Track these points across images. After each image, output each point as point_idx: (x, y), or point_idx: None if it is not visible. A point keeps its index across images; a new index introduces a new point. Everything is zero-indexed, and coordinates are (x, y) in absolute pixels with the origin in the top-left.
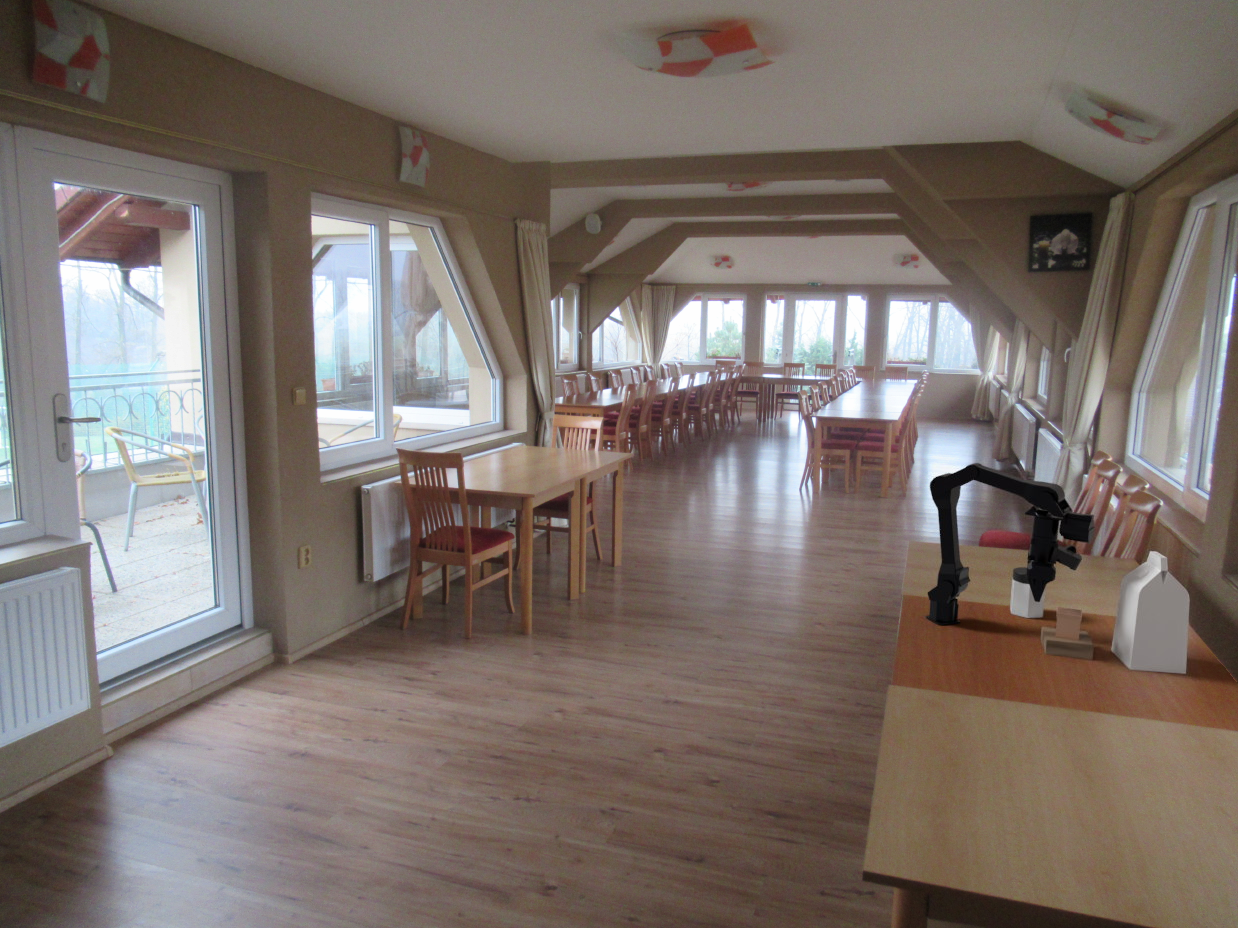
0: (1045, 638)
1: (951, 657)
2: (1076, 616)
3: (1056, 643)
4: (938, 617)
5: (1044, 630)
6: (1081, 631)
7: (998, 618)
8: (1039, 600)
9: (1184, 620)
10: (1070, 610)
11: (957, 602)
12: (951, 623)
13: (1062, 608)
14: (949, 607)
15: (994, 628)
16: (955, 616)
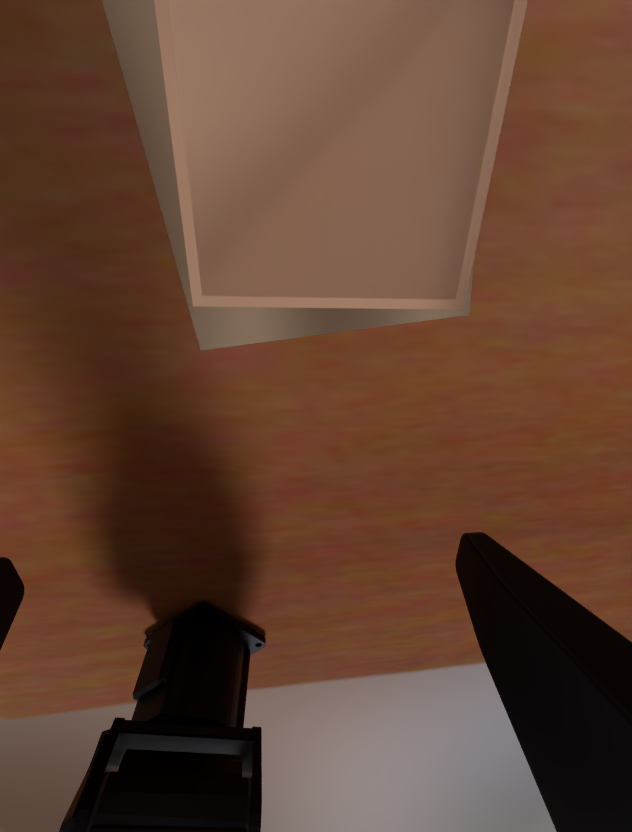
0: (410, 319)
1: (567, 577)
2: (515, 27)
3: None
4: (244, 664)
5: (280, 331)
6: (135, 23)
7: (17, 507)
8: (499, 547)
9: None
10: (275, 122)
11: (169, 695)
12: (232, 619)
13: (240, 240)
14: (225, 692)
15: (178, 507)
16: (190, 632)
